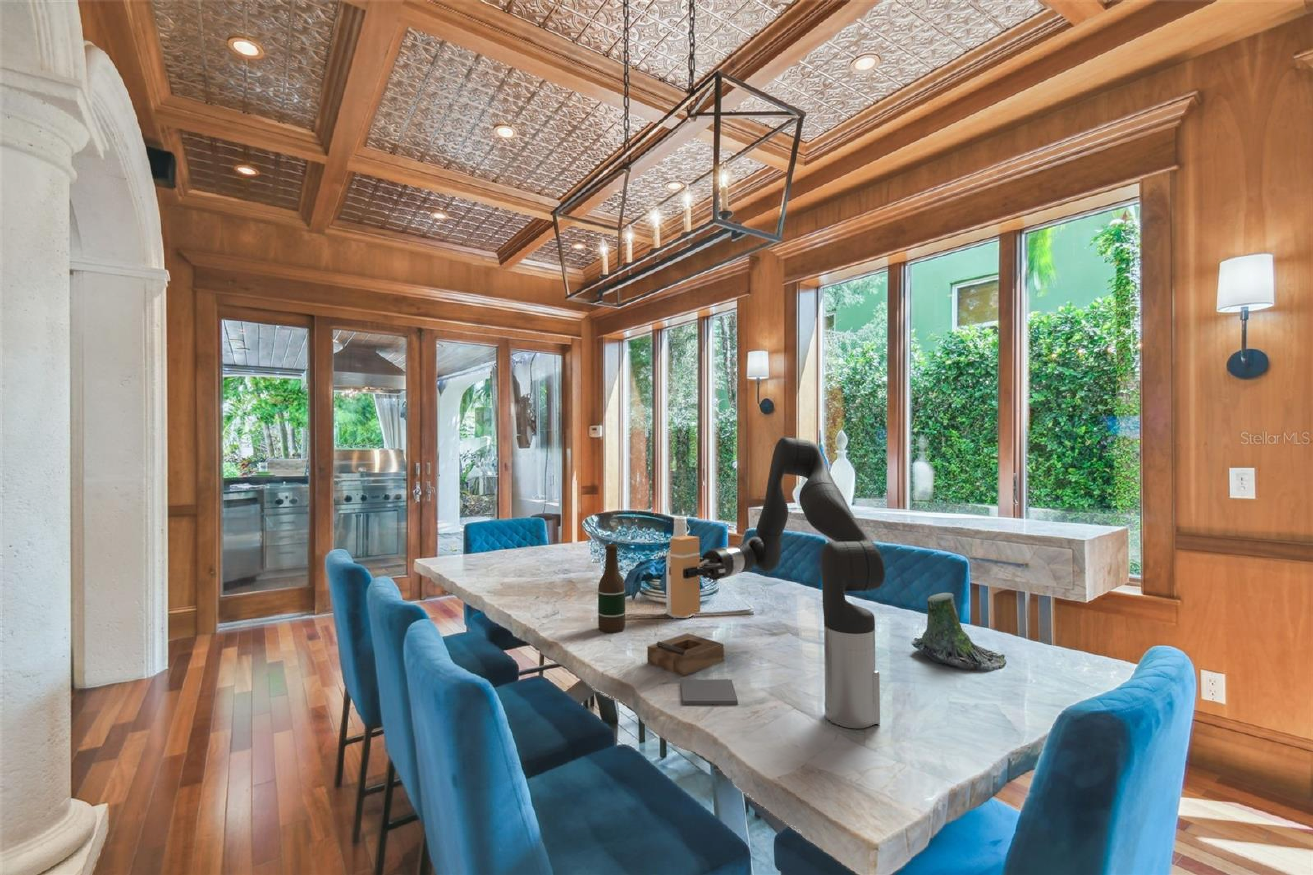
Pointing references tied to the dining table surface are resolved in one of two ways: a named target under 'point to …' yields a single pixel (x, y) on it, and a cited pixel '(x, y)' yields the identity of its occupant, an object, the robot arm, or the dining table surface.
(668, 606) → the alcohol
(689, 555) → the striped orange pillar
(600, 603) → the beer bottle
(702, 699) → the pad
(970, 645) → the tree stump
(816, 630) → the dining table surface
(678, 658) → the brown socket base
